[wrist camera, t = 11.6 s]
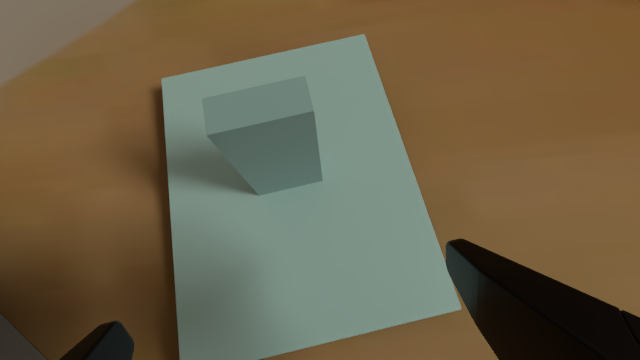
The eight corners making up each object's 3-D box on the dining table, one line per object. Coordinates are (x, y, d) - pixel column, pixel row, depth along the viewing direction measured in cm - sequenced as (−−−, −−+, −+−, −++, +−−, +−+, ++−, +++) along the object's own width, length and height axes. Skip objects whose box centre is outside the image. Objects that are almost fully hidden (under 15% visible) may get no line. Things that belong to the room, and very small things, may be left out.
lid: (451, 306, 17) (575, 333, 8) (194, 370, 17) (34, 470, 8) (362, 49, 24) (379, -96, 15) (172, 92, 23) (68, -31, 14)
